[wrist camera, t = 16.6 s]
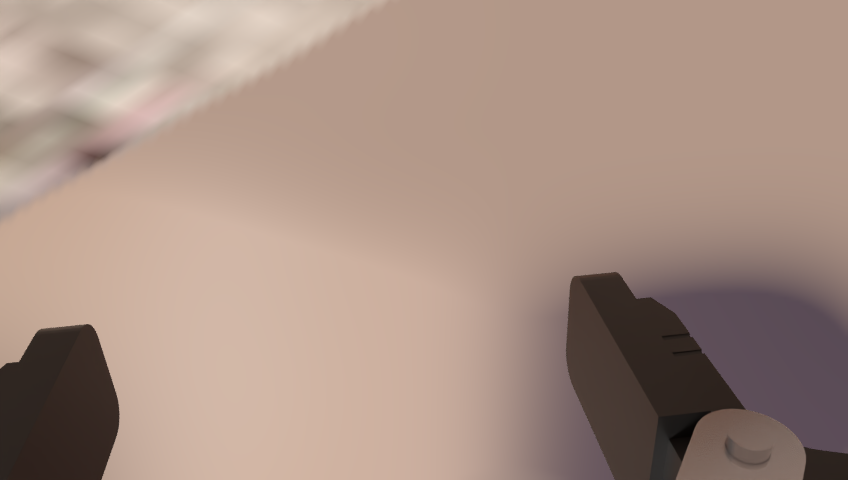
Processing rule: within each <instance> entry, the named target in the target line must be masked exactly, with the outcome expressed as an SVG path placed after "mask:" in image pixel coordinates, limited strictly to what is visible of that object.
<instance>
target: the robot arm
mask: <svg viewBox="0 0 848 480" xmlns="http://www.w3.org/2000/svg"><path fill="white" fill-rule="evenodd" d="M566 358H567V366H568V372H569V376H570V379H571V383H572V385H573V387H574V390H575V392H576V394H577V396H578V398H579V401H580V403H581V405H582V407H583V410H584V412H585V414H586V416H587V419H588V421H589V423H590V425H591V428H592V430H593V432H594V434H595V436H596V439H597V441H598V443H599V445H600V448H601V450H602V452H603V454H604V456H605V458H606V461H607V463H608V465H609V468H610V470H611V472H612V474H613V476H614V479H615V480H848V454H845V453H837V452H829V451H822V450H815V449H809V448H806V447H803V446H802V444H801V442H800V441H799V439H798V438H797V437H796V436H795V435H794V434H793V432H791V430H789V429H788V428H786V427H785V426H784V425H783V424H781V423H779V422H778V421H776V420H774V419H772V418H770V417H768V416H766V415H763V414H760V413H757V412H753V411H749V410H746V409H745V408H744V407H743V405H742V404H741V403H740V401H739V400H738V399H737V397H736V396H735V394H734V393H733V392H732V390H731V389H730V388H729V386H728V385H727V383H726V382H725V381H724V380H723V378H722V377H721V375H720V374H719V373H718V371H717V370H716V369H715V367H714V366H713V364H712V363H711V362H710V360H709V359H708V358H707V356H706V355H705V354H702V352H701V348H700V347H699V345H698V344H697V343H696V341H695V340H694V338H693V337H690V334H689V332H688V330H687V329H686V327H685V326H684V325H683V324H682V322H681V321H680V319H679V318H678V317H677V315H676V314H675V313H674V312H672V311H671V310H669V309H668V308H666V307H665V306H663V305H662V304H660V303H658V302H657V301H655V300H654V299H652V298H641V299H636V298H635V296H634V295H633V293H632V292H631V290H630V289H629V288H628V286H627V284H626V283H625V282H624V280H623V278H622V277H621V276H620V274H618V273H617V272H613V273H602V274H593V275H583V276H574V277H573V278H572V281H571V285H570V297H569V311H568V328H567V343H566ZM118 427H119V404H118V399H117V395H116V392H115V389H114V385H113V382H112V379H111V376H110V373H109V370H108V367H107V364H106V360H105V358H104V354H103V351H102V348H101V345H100V342H99V339H98V336H97V333H96V331H95V329H94V328H93V327H92V326H91V325H89V324H86V325H76V326H66V327H57V328H46V329H41V330H39V331H38V332H37V333H36V334H35V336H34V337H33V339H32V341H31V343H30V344H29V346H28V348H27V349H26V351H25V353H24V355H23V356H22V358H21V360H20V361H19V362H14V363H7V364H5V365H4V366H3V367H2V368H1V369H0V480H101V479H102V476H103V474H104V470H105V468H106V465H107V462H108V459H109V456H110V453H111V450H112V448H113V445H114V442H115V439H116V436H117V432H118Z"/></svg>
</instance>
